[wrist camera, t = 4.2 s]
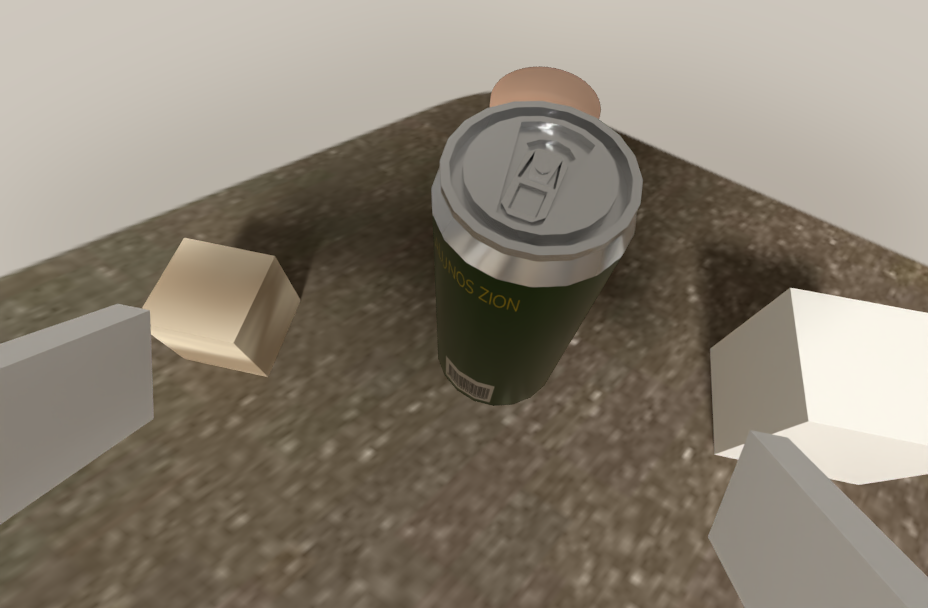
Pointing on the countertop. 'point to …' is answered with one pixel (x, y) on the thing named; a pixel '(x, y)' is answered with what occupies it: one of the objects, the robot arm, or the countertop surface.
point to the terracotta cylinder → (546, 89)
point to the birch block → (223, 306)
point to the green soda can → (525, 241)
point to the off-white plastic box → (828, 385)
